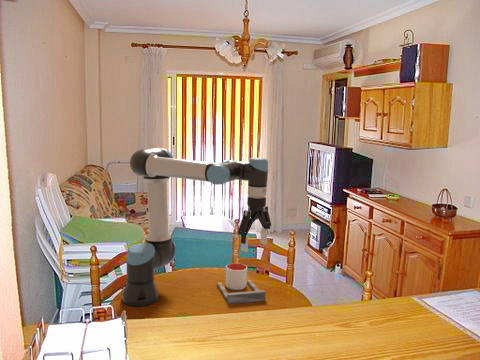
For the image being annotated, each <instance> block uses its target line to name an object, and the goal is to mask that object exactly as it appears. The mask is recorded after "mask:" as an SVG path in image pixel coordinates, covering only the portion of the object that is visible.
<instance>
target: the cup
mask: <svg viewBox="0 0 480 360" xmlns="http://www.w3.org/2000/svg"><path fill="white" fill-rule="evenodd" d="M247 280H248V266H247V265H246V264H243V263H239V262H233V263H229V264H227V265H225V286H226V288H227V289H229V290H232V291H241V290H243V289H245V288H246V287H247V285H248V284H247Z"/></svg>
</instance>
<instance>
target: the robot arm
mask: <svg viewBox="0 0 480 360" xmlns="http://www.w3.org/2000/svg"><path fill="white" fill-rule="evenodd" d="M129 167H130V169H131V171H132V173H134V174H135V175H136V176H139V177H142V178H143V180H144V181H145V182H146V188H147V189H146V190H147V215H148V220H147V221H148V235H147V236H146V237H145V242H141V243H140V242H139V243H136V244H132V245H131V246H130V247H129V248H128V249H127V251H126V259H125V260H126V284H125V286H124V290H123V293H122V296H121V297H122V302H123V303H124V304H125V305H128V306H132V307H145V306H149V305H150V306H151V305H152V304H155V303H156V302H157V301H158V299H159V291H158V289H157V286H156V282H155V271H157V270H158V269H161V268H163V267H164V266H167V265H169V264H170V263H171V262H172V261H173V260H174V259H175V258H176V255H177V253H178V252H177V251H178V250H177V245H176V243H175V241H174V240H173V238H172V237H173V236H172V235H171V234H170V233H169V220H168V218H169V216H168V214H169V213H168V194H167V192H168V190H167V187H168V185H167V182H168V180H170V178H175V179H186V180H192V181H200V182H208V183H211V184H212V185H215V186H217V185H218V186H219V185H224V184H226V183H229V182H232V181H237V180H238V181H245V182H248V184H247V199H246V201H247V202H246V203H247V206H248V210H247V209H244V210H243V213H242V214H243V215H242V218H241V222H240V225H239V226H238V227H239V228H238V230H237V235H239V236H240V243H241V244H240V251H242V252H246V253H247V252H248V250H249V249H248V246H249V235H248V234H249V231H250V230H251V227H252V226H253V223H254V222H255V221H256V220H258V221H259V222H260V225H261V229H260V242H259V243H260V244H261V245H262V244H263V245H267V243H268V242H267V241H268V230H270V229H271V226H272V222H271V218H270V214H269V206H268V205H267V193H268V192H267V191H268V189H267V187H268V178H269V177H268V175H269V161H268V159H267V158H264V157H251V158H250V159H249V161H241V160H240V161H239V160H233V159H230V160H229V159H226V160H223V161H222V162H210V161H199V160H191V159H182V158H174V157H173V155H172V153H171V152H170V151H169V150H168V149H166V148H163V147H151V148H142V149H138V150H136V151H135V152H133V154H132V155H131V157H130V159H129Z"/></svg>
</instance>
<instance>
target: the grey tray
mask: <svg viewBox="0 0 480 360" xmlns="http://www.w3.org/2000/svg"><path fill="white" fill-rule="evenodd" d="M247 285H248V286H249V288H250V289H251V290H250V291H240V292H239V291H238V292H231V293H230V292H228V290H227V289H226V288H225V286H224V284H223V283H222V282H217V283H216V286H217V288H218V290H219V291H220V293H221V295H222V296H223V298H224V299H225V301H226V303H227V304H228V305H233V304H242V303H255V302H261V301H263V302H264V301H266V296H267V295H266V294H267V292H266V291H265V290H264V289H261V290H260V289H259V288H258V287H257V285H256V284H255V283H254V281H252V279H247Z"/></svg>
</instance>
